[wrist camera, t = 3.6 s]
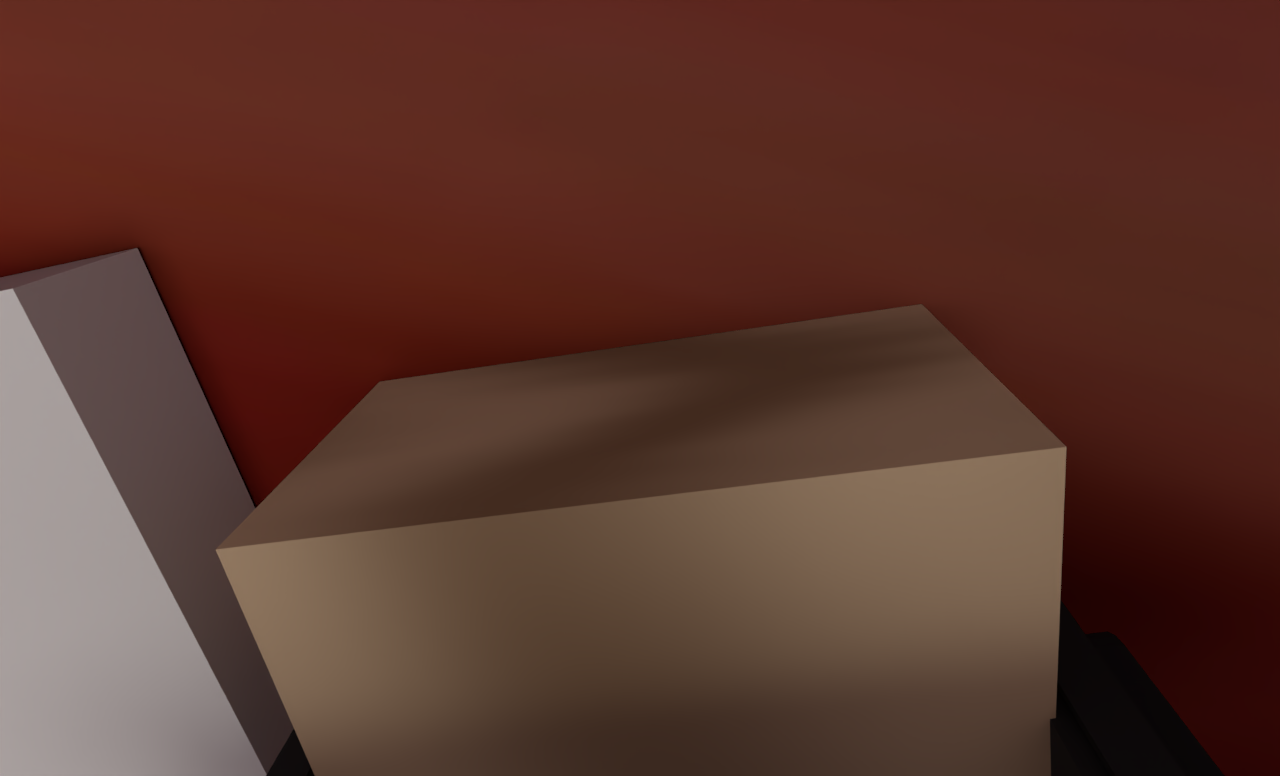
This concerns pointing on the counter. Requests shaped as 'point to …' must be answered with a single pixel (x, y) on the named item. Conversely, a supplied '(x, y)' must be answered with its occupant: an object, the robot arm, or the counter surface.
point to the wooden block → (673, 564)
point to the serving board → (118, 543)
